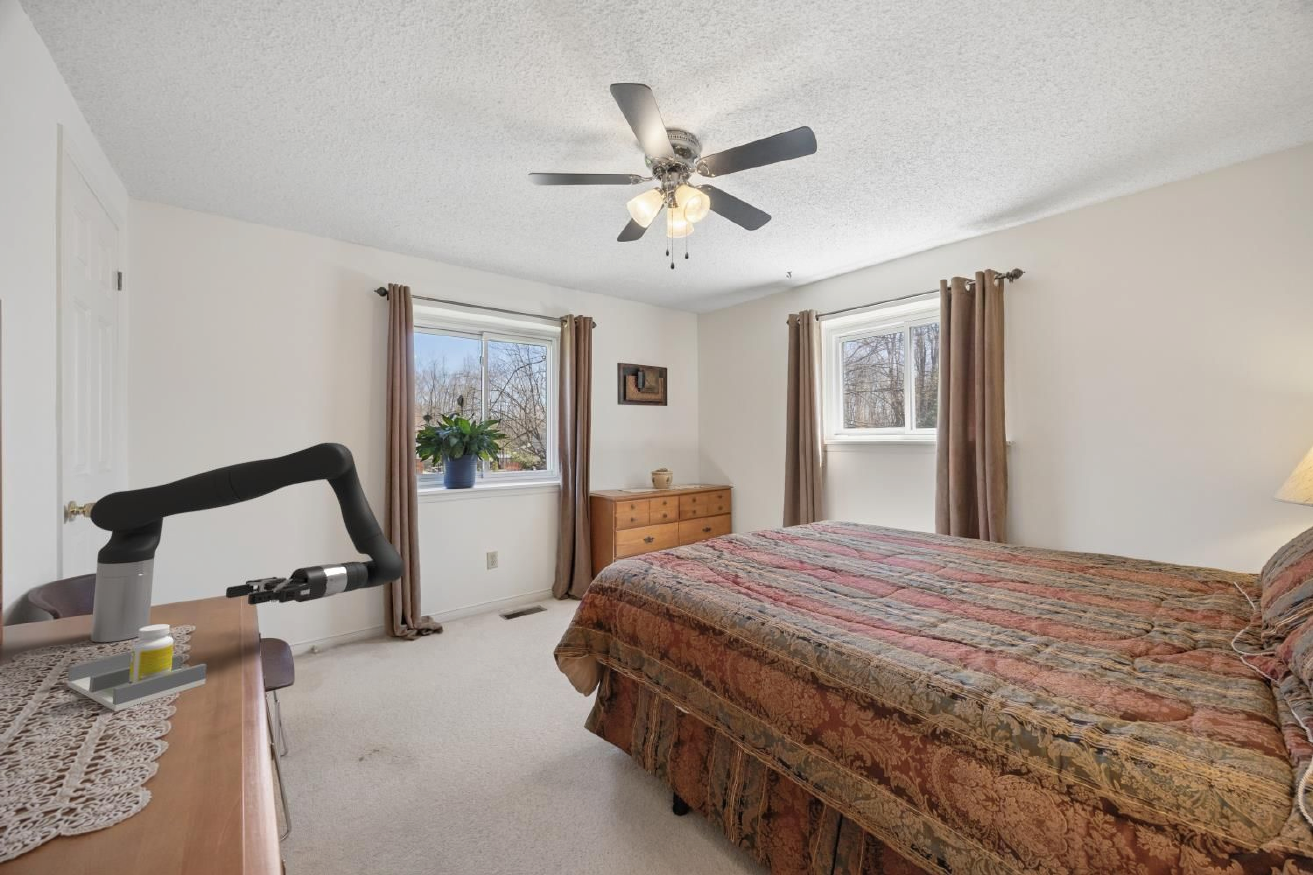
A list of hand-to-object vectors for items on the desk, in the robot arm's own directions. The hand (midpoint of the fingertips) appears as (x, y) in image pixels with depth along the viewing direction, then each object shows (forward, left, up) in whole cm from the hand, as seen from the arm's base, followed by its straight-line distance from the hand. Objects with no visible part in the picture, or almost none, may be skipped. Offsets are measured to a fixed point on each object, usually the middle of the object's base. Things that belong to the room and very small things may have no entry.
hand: (237, 596), depth 105 cm
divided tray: (-3, -14, -13) cm, 19 cm away
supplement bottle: (+2, -14, -12) cm, 18 cm away
